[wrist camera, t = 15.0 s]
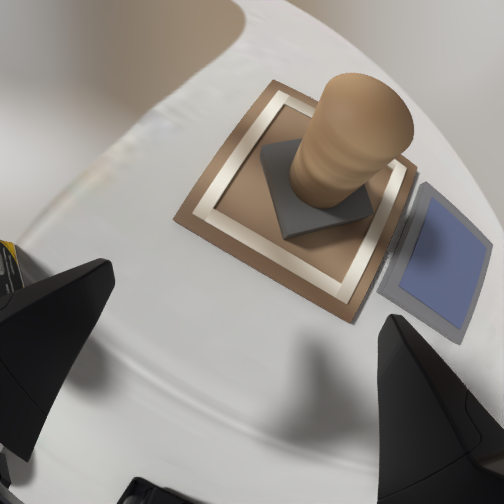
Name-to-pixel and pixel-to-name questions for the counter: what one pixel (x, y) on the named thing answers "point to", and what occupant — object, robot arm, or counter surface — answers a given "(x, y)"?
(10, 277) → the medicine bottle
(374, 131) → the stamp
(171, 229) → the counter surface
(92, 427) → the counter surface
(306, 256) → the marked board
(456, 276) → the ink pad
